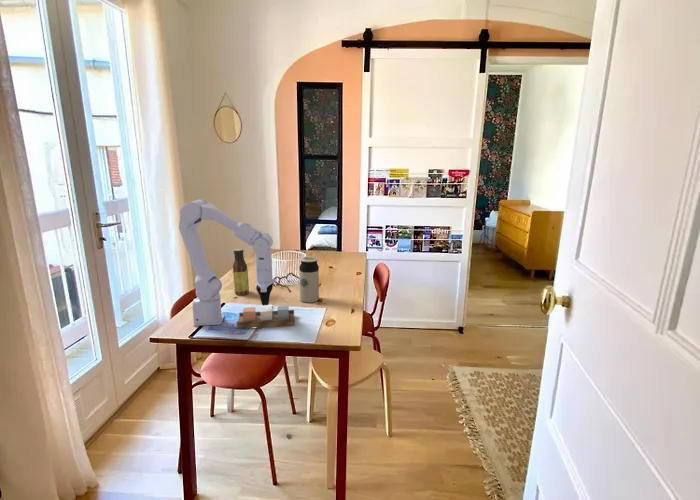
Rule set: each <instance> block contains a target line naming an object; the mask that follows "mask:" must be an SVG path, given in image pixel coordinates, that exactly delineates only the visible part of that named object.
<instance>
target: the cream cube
mask: <svg viewBox="0 0 700 500" xmlns="http://www.w3.org/2000/svg"><path fill="white" fill-rule="evenodd" d="M272 311H273V306H272V307H271V306H270V307H269V306H268V307H267V306H266V307H260V310H259V312H260V315H261V320H272Z"/></svg>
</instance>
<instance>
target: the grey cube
mask: <svg viewBox="0 0 700 500" xmlns="http://www.w3.org/2000/svg"><path fill="white" fill-rule="evenodd" d="M289 307H290V306H289V305H277V309H276V311H277V312H278V319H289V310H290V309H289Z"/></svg>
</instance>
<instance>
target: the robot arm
mask: <svg viewBox="0 0 700 500" xmlns="http://www.w3.org/2000/svg"><path fill="white" fill-rule="evenodd" d="M179 215H180V216H179V222H178V230H179V232H180V233H179V234H180V236H181V238H182V241H183V243H184V246H185V248H186V249H185V250H186V251H187V255H188V257H189V260H190V262H191V265H192V268H193V271H194V273H195V278H194V285H195V296H196V298H194V299H192V300H193V301H192V314H193V315H192V316H193V326H194V327H197V326H199V327H200V326H214V325H215V326H217V325H218V326H219V325H222V323H223V320H224V317H225V315H224V314H222V303H221V294H220V291H221V290H222V289H223V288H222V287H223V284H222V281H221V280H220V278H219V277H218V276H217V273H216V272H215V271H213V270H212V268H211V266H210V262H209V261H208V260H209V259H208V257H207V255H206V252H205V248H204V246H203V242H202V240H201V237H200V235H199V231H198V229H197V228H199V225H200V224H201V221H203V220H204V221H205V220H206V221H207V220H213V221H215V222H216V223H219V224H220V225H222V226H224V227H225V228H227V229H229V230H231V231H232V232H233V233H234V236H235V237H236V238H238V239H240V240H241V241H243V242H244V243H245V244H247V245H249V246H251V247H252V249H253V250H254V254H255V256H254V259H255V260H254V261H255V284H256V288H255V289H256V291H257V293H258V295H259V298H260V302H261V306H269V304H270V296H271V293H272V290H273V284H272V283H275V282H277V278H276V279H274V278H273V257H272V248H271V247H273V243H274V242H273V238H272V236H270V235H269V233H266V232H263V231H262V230H258V229H257V228H254V227H253V226H252V225H251V223H250V222H245V221H242V222H238V221H237V220H235V219H234V218H232V217H231V216H229V215H228V214H227V213H225V212H224V211H222V210H221V209H219V208H218V207H217V206H215V205H214V204H213V203H210V202H208V201H207V200H205V199H203V198H199V199H196V200H193V201H188V202H185V203H184V204H183V205H182V207H181V208H180V209H179ZM275 284H276V283H275Z"/></svg>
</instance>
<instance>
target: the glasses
mask: <svg viewBox="0 0 700 500" xmlns="http://www.w3.org/2000/svg"><path fill="white" fill-rule="evenodd" d="M290 275H291V276H294V278H296V279H298V280H300V276H297V275H295V274H294V273H293V272H288V273H287V275H284V276H281V277H280V276H275V277H274V278H273V279H276V280H277V279H279V280H278V282H277V281H276V282H275V284H274V283H272V284H273V286H274V287H276V286H275V285H277V286H280V287H282V288H286V289H287V290H288V292H289V293H291V292H292V291H291V289H290V288H289V287H288V286H286V285H283V284H281V280H282V279H285V280H286V279H287V280H288V278H289V276H290Z"/></svg>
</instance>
